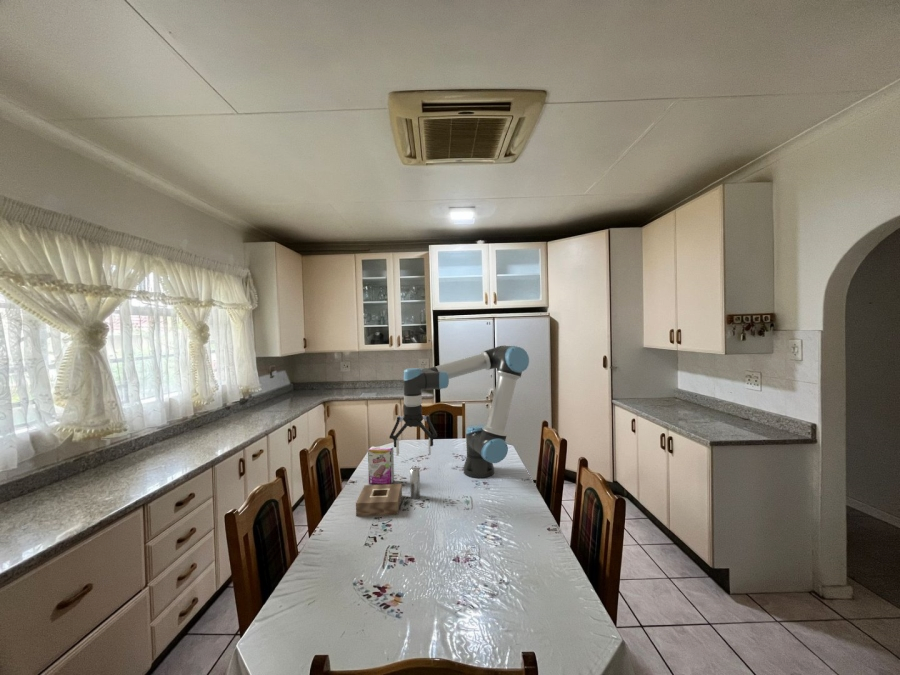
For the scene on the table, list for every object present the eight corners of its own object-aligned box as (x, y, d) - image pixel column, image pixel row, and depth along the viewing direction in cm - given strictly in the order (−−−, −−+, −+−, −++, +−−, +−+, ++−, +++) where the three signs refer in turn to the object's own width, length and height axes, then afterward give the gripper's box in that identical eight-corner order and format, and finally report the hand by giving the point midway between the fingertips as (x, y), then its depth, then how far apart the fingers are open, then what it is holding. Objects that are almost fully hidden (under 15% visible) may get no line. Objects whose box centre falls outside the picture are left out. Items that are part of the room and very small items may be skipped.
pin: (420, 494, 154) (419, 467, 154) (419, 499, 150) (419, 470, 150) (411, 494, 154) (410, 467, 154) (410, 499, 150) (409, 471, 150)
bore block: (401, 495, 154) (401, 483, 154) (397, 514, 138) (397, 501, 138) (364, 496, 153) (364, 485, 153) (356, 516, 137) (355, 503, 137)
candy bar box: (368, 484, 165) (367, 449, 165) (371, 480, 170) (370, 446, 170) (391, 485, 164) (390, 449, 164) (394, 480, 169) (393, 446, 169)
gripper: (442, 402, 155) (442, 450, 156) (384, 403, 154) (385, 451, 155) (442, 405, 148) (443, 456, 148) (382, 407, 147) (383, 458, 147)
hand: (413, 454), depth 151 cm, fingers open, 13 cm apart
